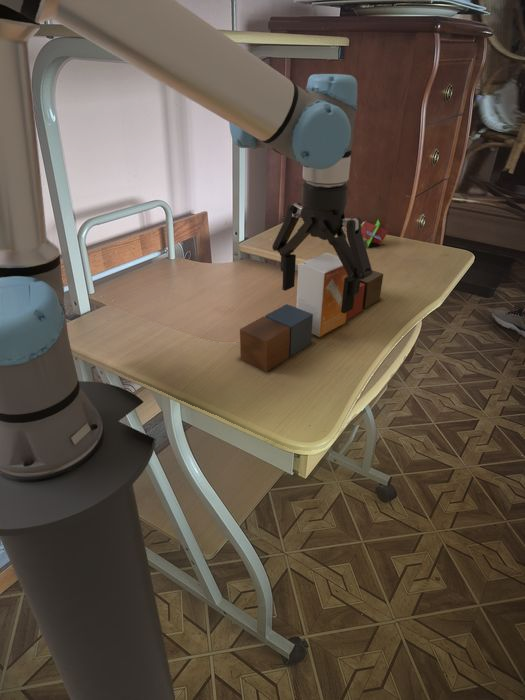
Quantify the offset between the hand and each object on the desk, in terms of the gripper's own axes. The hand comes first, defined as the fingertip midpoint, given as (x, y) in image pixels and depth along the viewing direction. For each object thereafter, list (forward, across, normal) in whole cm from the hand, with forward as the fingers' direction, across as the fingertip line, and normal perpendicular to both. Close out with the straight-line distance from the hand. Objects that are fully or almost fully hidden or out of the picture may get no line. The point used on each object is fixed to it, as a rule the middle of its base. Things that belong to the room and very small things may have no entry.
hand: (316, 299), depth 93 cm
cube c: (+6, 0, -9) cm, 11 cm away
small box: (+6, 0, -2) cm, 6 cm away
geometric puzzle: (+6, +16, -46) cm, 49 cm away
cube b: (+6, 0, +8) cm, 10 cm away
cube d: (+6, 0, -16) cm, 17 cm away
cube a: (+6, 0, +14) cm, 16 cm away
